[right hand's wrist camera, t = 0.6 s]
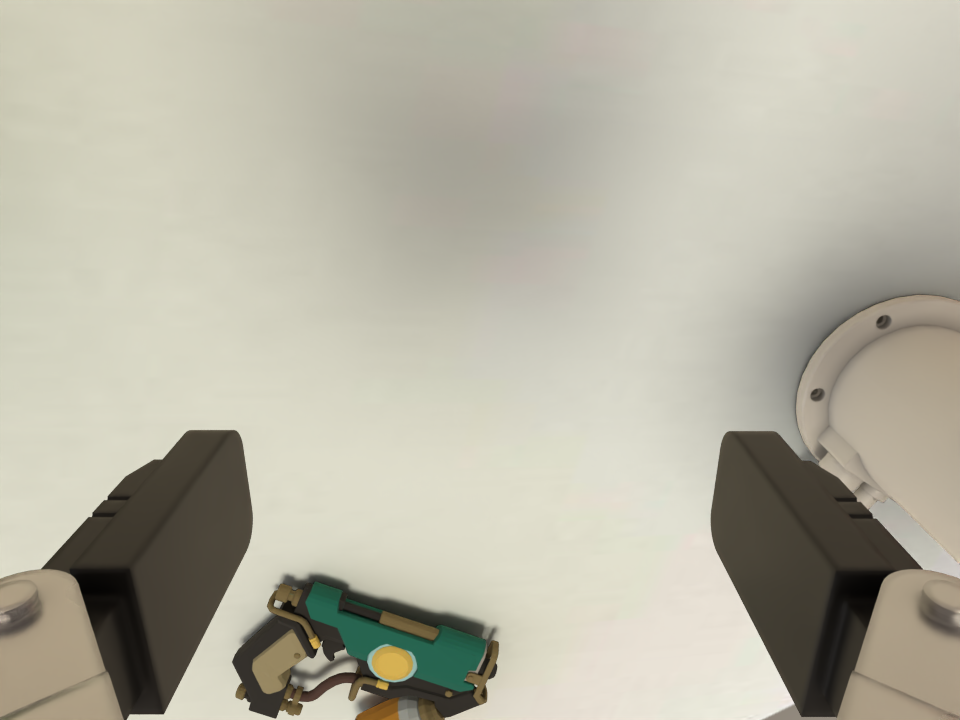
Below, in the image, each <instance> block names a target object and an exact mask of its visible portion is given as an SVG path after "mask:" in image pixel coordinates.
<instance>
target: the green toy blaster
mask: <svg viewBox="0 0 960 720" xmlns="http://www.w3.org/2000/svg"><path fill="white" fill-rule="evenodd" d="M347 595H348V594H347V593H344V592H343V591H342V590H340V589H337V588H334V587H331V586H328V585H325V584H322V583H319V582H314V584H310V583H307V584H306V585H305V588H304V590H301V589H297V590H296V591H294V590H292V587H291V586H288V585H285V584H280V586H279V588H278V590H276V591H274V593H273V594H272V596H271V597H270V599H269V602H268V605H267V607H268V609H269V611H270V612H272V613H274V614H276V615H277V616H276V617H274V618H273V619H272V620H271V621H270V622H269V623H267V624H266V625H265V626H264V627H263V628H262V629H261V630H259V631H258V632H257V633H256V634H255V635H254V636H253V637H252V638H251V639H249V640H248V641H247V642H246V643H245V644H244V645H243V646H242V647H240V648H239V649H238V651H237V653H236V654H235V656H234V659H233V661H232V663H233V665H234V667H235V669H236V671H237V673H238V675H239V677H240V679H241V681H242V683H241V684H240V685H239V687H238V689H237V691H236V698H238V699H241V700H243V699H244V698H246V699H247V701H248V702H251V704H250V707H249V710H250V711H253V712H256V713H259V714H263V715H266V716H269V717H272V718H276V717H277V715H278V712H279V710H281V711H284V710H286V712H288V714H289V715H292V716H294V714H295V715H300V713H301V710H302V707H303V705H302V704H300V703H298V702H299V701H301V702H310V701H313V700H316V699H317V698H319V697H320V696H321V695H322V694H323V693H325V692H326V691H327V690H329V689H330V688H332V687H334V686H336V685H338V684H342V683H352V686H351V689H350V693H349V697H348V698H349V700H350V701H353V700H354V699H355V698H356V695H357V693H358V690H359V688H360V687H361V690H364V691H367V692H370V693H373V694H376V695H379V696H382V697H386V698H389V700H387V701H385V702H383V703H380V704H378V705H376V706H374V707H372V708H370V709H368V710H366V711H364V712H362V713H360V714H358V715H357V716H356V718H355V720H445V718H446V717H451V716H453V715H456V714H458V713H461V712H463V711H466V710H468V709H471V708H473V707H476V706H478V705H482V704H484V703H486V702H487V688H486V685H485V684H486V682H487V680H488V679H491V678H493V677H494V676H495V674H496V671H497V664H496V660H497V657H498V651H499V643H498V642H497V641H494V640H492V641H491V643H490V645H489V647H488V649H487V643H486V640H485V639H482V638H479V637H476V636H473V635H470V634H467V633H464V632H461V631H458V630H456V629H453V628H450V627H447V626H444V625H438V626H436V628H434V627H431V626H428V625H425V624H422V623H419V622H416V621H413V620H410V619H407V618H404V617H401V616H398V615H395V614H392V613H389V612H386V611H383V610H380V609H377V608H374V607H371V606H368V605H365V604H362V603H359V602H356V601H353V600H350V599H347ZM275 600H278V601H281V602H283V603H282V605H281V608H280V609H278V608H276V607H274V602H275ZM321 641H323V643H322V647H323V652H324V654H325V656H326V657H327V659H328V660H329V661H333V660H334V658H335V656H334V653H335V652H338V651H340V650H345V647H346V650H347V653H348V654H349V655H351V656H353V657H356V658H357V661H358V664H359V666H358V668H357V671H356V673H347V672H345V673H339V674H336V675H334V676H331V677H329V678H328V679H326V680H324V681H323V682H321V683H320V684H319V685H318V686H317V687H316V688H314V689H313V690H311V691H309V692H308V691H303V688H304V687H300V686H298V687H297V689H295V688H294V687H293V685H291V684H289V683H290V680H291V677H292V676H291V675H290V674H291V671H290V668H291V667H292V666H294V665H295V664H297V663H298V662H300V661H301V660H303V659H304V658H306V657H307V656H308V657H310V658H314V657H315V655H316V653H317V650H318V648H319V647H320V645H321V643H320V642H321ZM490 657H491V658H490ZM474 684H476V685H478V686H477V687H475V686H474ZM289 698H291V699H293V701H291V700H290V701H289V702H288V699H289Z"/></svg>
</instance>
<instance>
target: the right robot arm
mask: <svg viewBox="0 0 960 720" xmlns="http://www.w3.org/2000/svg"><path fill="white" fill-rule="evenodd" d="M252 525H253V513H252V505H251V498H250V491H249V484H248V477H247V470H246V464H245V457H244V450H243V444H242V440H241V437H240V435H239V433H238V432H237V431H235V430H189V431H187V432H186V433H185V434H184V435H183V436H182V438H181V439H180V440H179V441H178V442H177V443H176V445H175V446H174V447H173V448H172V449H171V450H170V451H169V453H168V454H167V455H166V456H165V457H164V458H163V460H153V461H151V462H149V463H148V464H146V465H144V466H143V467H141V468H139V469H138V470H136V471H134V472H133V473H131V474H129V475H128V476H126V477H125V478H124V479H123V480H122V481H121V482H120V483H119V485H118V486H117V487H116V488H115V489H114V490H113V491H112V492H111V493H110V494H109V495H108V500H104V501H103V502H102V503H101V504H100V505H99V506H98V507H97V509H96V510H95V511H94V512H93V516H92V517H88V518H87V519H86V521H85V522H84V523H83V524H82V525H81V526H80V527H79V528H78V529H77V530H76V531H75V533H74V534H73V535H72V536H71V537H70V538H69V539H68V540H67V541H66V542H65V543H64V545H63V546H62V547H61V548H60V549H59V550H58V551H57V552H56V553H55V554H54V555H53V557H52V558H51V559H50V560H49V561H48V562H47V563H46V564H45V565H44V566H43V568H42V569H39V570H31V571H25V572H21V573H16V574H13V575H10V576H6V577H4V578H1V579H0V720H127V718H128V716H129V714H164V713H165V711H166V709H167V707H168V705H169V703H170V701H171V699H172V697H173V695H174V693H175V691H176V689H177V687H178V685H179V683H180V681H181V679H182V677H183V675H184V673H185V671H186V669H187V667H188V665H189V663H190V661H191V659H192V658H193V656H194V654H195V652H196V650H197V648H198V646H199V644H200V642H201V640H202V638H203V636H204V634H205V632H206V630H207V628H208V626H209V624H210V622H211V620H212V618H213V616H214V614H215V612H216V610H217V608H218V606H219V604H220V602H221V600H222V598H223V596H224V594H225V592H226V590H227V588H228V586H229V584H230V582H231V581H232V579H233V577H234V575H235V573H236V571H237V569H238V567H239V565H240V563H241V561H242V559H243V557H244V555H245V553H246V551H247V549H248V546H249V543H250V539H251V534H252ZM711 532H712V538H713V542H714V546H715V549H716V551H717V553H718V555H719V557H720V559H721V561H722V563H723V565H724V567H725V569H726V571H727V573H728V575H729V576H730V578H731V580H732V582H733V584H734V586H735V588H736V590H737V592H738V594H739V596H740V598H741V600H742V602H743V604H744V606H745V608H746V610H747V612H748V614H749V616H750V617H751V619H752V621H753V623H754V625H755V627H756V629H757V631H758V633H759V635H760V637H761V639H762V641H763V643H764V645H765V647H766V649H767V651H768V653H769V655H770V656H771V658H772V660H773V662H774V664H775V666H776V668H777V670H778V672H779V674H780V676H781V678H782V680H783V682H784V684H785V686H786V688H787V690H788V692H789V694H790V695H791V697H792V699H793V701H794V703H795V705H796V707H797V709H798V711H799V713H800V715H801V717H836V718H837V719H836V720H960V579H959V578H956V577H954V576H950V575H947V574H944V573H939V572H935V571H929V570H923V569H922V568H921V566H920V565H919V564H918V563H917V562H916V561H915V560H914V559H913V558H912V557H911V556H910V555H909V553H908V552H907V551H906V550H905V549H904V548H903V547H902V546H901V545H900V544H899V543H898V542H897V540H896V539H895V538H894V537H893V536H892V535H891V534H890V533H889V532H888V531H887V530H886V529H885V528H884V526H883V525H882V524H881V523H880V522H879V521H878V520H877V519H873V517H872V513H871V512H870V511H869V510H868V509H867V508H866V507H865V506H864V505H863V504H862V503H861V502H857V497H856V496H855V495H854V494H853V493H852V492H851V491H850V490H849V489H848V487H847V486H846V485H845V484H844V483H843V482H842V481H841V480H840V479H839V478H838V477H836V476H835V475H833V474H831V473H830V472H828V471H826V470H825V469H823V468H821V467H820V466H818V465H816V464H814V463H813V462H811V461H802V460H801V459H800V458H799V457H798V456H797V455H796V454H795V452H794V451H793V450H792V449H791V448H790V447H789V445H788V444H787V443H786V442H785V441H784V440H783V439H782V437H781V436H780V435H779V434H778V433H777V432H774V431H729V432H727V433H726V434H725V435H724V437H723V440H722V443H721V448H720V455H719V462H718V469H717V475H716V482H715V489H714V496H713V503H712V509H711Z"/></svg>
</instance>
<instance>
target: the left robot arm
mask: <svg viewBox="0 0 960 720" xmlns="http://www.w3.org/2000/svg"><path fill="white" fill-rule="evenodd" d="M878 318H879V319H878ZM813 390H814V391H813ZM796 416H797V423H798V428H799V431H800V433H801V436H802V439H803V441H804V443H805V444H806V446H807V447H808V449H809V450H810V452H811V453H812V455H813V456H814V457H815V458H816V459H817V460H818V461H819V463H818V465H819V466H820V467H821V468H823V469H825V470H826V471H828V472H830V473H831V474H833V475H835V476H836V477H838V478H839V479H840V480H841V481H842V482H843V483H844V484H845V485H846V486H847V487H848V489H849V490H850V491H852V492H853V491H855V490H856V489H857V488H858V487H859V486H860V487H859V488H858V489H857V490H856V491H855V492H854V493H853V494H854V495H855V496H856V497H857V502H861V503H862V504H863V505H864V506H865V507H866V508H867V509H869V508H870V507H871V506H872V505H873V504H874V503H875V502H876V501H877V500H878V501H880V502H884V501H885V500H886V499H887V498H888V497H889V498H890V499H892V500H893V501H895V502H896V503H898V504H899V505H900V506H901V507H902V508H903V509H904V510H905V511H906V512H907V513H908V514H909V515H910V516H911V517H912V518H913V519H914V520H915V521H916V522H917V523H918V524H919V525H920V526H921V527H922V528H923V529H924V530H925V531H926V532H927V533H928V534H929V535H930V536H931V537H932V538H933V539H934V540H935V541H936V542H937V543H938V544H939V545H940V546H941V547H942V548H944V549H945V550H946V551H947V552H948V553H949V554H950V555H951V556H952V557H953V558H954V559H955V560H956V561H957V562H958V563H959V564H960V302H959V301H957V300H953V299H949V298H945V297H941V296H931V295H914V296H906V297H898V298H895V299H891V300H888V301H885V302H882V303H878V304H876V305H874V306H872V307H870V308H868V309H866V310H864V311H861V312H859V313H857V314H856V315H854V316H853V317H852V318H850V319H849V320H847V321H846V322H844V323H843V324H842V325H840V326H839V327H838V328H837V329H836V330H835V331H834V332H833V333H832V334H831V335H830V336H829V337H827V338H826V339H825V340H824V341H823V343H822V344H821V345H820V347H819V348H818V349H817V351H816V352H815V353H814V355H813V356H812V357H811V359H810V361H809V363H808V365H807V367H806V369H805V371H804V373H803V375H802V379H801V382H800V385H799V389H798V392H797V402H796Z"/></svg>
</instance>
